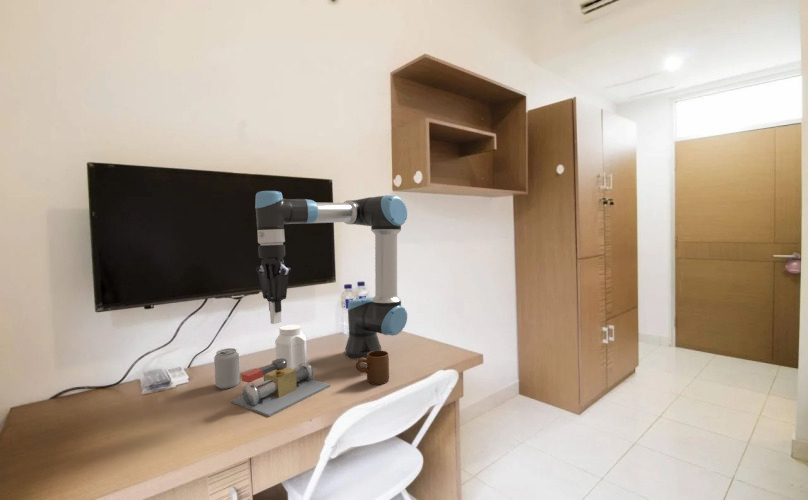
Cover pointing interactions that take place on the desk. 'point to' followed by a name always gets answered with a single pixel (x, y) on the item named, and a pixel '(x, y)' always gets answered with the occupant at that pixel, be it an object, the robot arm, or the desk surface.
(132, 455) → the desk surface
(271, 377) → the valve
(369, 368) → the mug
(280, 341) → the jar
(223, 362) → the can
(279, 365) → the lever
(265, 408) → the mat
